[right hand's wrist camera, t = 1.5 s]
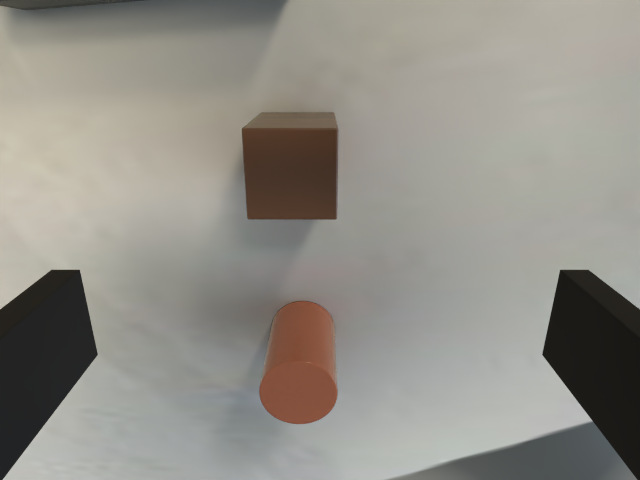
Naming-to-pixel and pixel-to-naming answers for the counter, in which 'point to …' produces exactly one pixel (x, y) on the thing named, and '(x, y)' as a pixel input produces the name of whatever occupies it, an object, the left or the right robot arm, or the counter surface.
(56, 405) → the right robot arm
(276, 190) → the walnut block
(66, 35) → the counter surface
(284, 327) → the terracotta cylinder
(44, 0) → the tray
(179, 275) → the counter surface
